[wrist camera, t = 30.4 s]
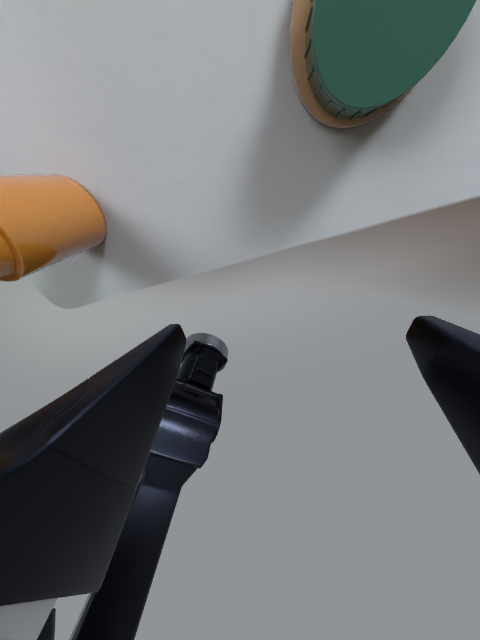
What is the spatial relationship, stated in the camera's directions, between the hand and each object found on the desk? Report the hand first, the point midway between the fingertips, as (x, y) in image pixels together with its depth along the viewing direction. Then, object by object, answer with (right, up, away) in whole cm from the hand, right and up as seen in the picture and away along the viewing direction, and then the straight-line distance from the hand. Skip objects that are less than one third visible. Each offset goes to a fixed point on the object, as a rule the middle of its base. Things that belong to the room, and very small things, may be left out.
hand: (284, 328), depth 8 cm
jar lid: (+5, +14, 0) cm, 15 cm away
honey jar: (-17, +10, +10) cm, 23 cm away
